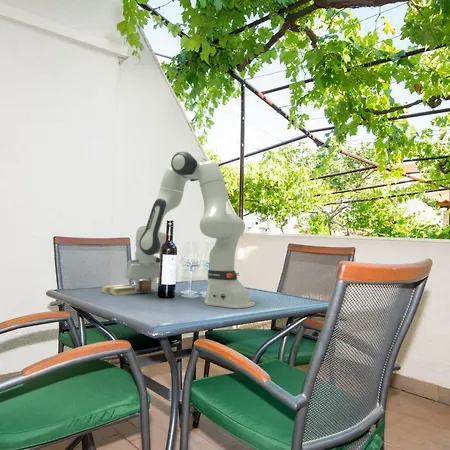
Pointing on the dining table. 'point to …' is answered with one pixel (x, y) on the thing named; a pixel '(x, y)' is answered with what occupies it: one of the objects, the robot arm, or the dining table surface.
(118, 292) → the birch plinth
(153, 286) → the white cup
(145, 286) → the walnut cube
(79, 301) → the dining table surface
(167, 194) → the robot arm
